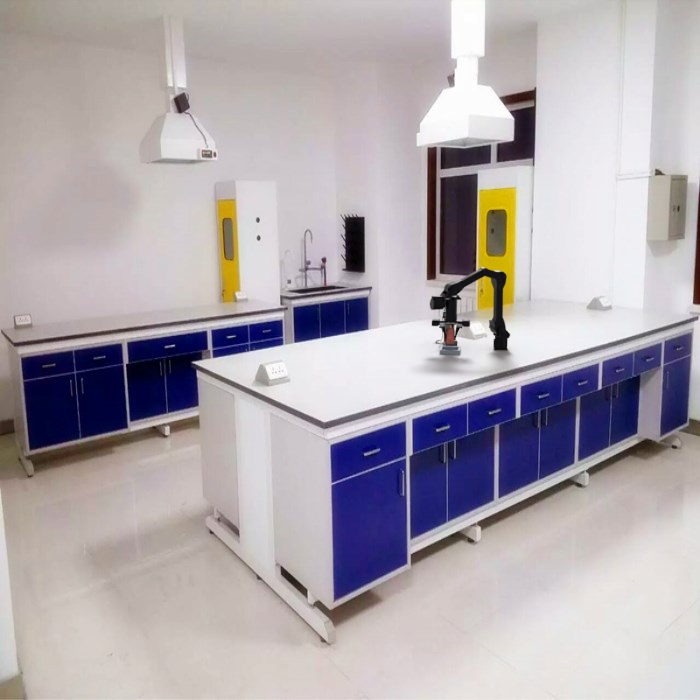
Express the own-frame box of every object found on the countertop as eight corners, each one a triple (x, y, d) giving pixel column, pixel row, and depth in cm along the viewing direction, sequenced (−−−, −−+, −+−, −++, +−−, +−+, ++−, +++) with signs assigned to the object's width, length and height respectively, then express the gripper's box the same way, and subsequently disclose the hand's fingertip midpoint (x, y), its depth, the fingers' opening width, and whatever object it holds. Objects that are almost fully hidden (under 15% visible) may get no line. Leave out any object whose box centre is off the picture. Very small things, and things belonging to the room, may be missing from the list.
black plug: (457, 347, 326) (457, 347, 330) (457, 340, 326) (457, 340, 330) (442, 346, 328) (443, 347, 331) (442, 340, 328) (443, 340, 331)
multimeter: (428, 341, 343) (428, 305, 338) (445, 340, 346) (445, 303, 341) (440, 347, 329) (440, 309, 325) (457, 345, 332) (458, 307, 328)
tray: (460, 350, 321) (460, 346, 321) (459, 354, 312) (460, 350, 311) (440, 349, 323) (440, 345, 323) (439, 354, 314) (439, 350, 313)
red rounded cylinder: (454, 342, 318) (454, 324, 316) (454, 343, 314) (454, 326, 312) (446, 342, 319) (446, 324, 317) (446, 343, 315) (446, 325, 313)
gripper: (470, 306, 318) (469, 336, 322) (433, 306, 322) (433, 336, 326) (470, 310, 308) (469, 341, 311) (431, 309, 311) (431, 340, 315)
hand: (450, 339), depth 316 cm, fingers closed on red rounded cylinder, 4 cm apart
